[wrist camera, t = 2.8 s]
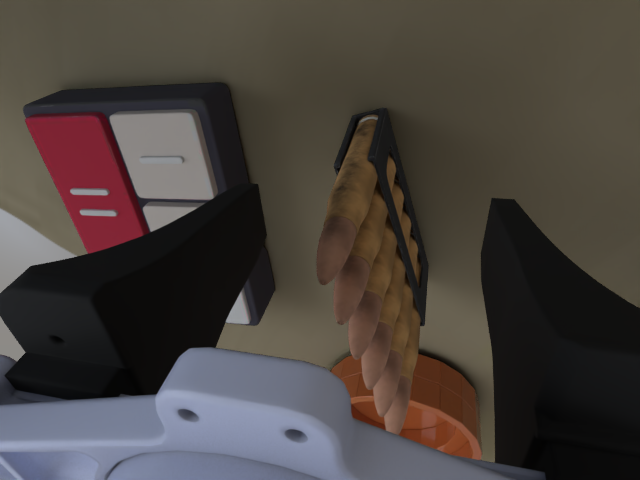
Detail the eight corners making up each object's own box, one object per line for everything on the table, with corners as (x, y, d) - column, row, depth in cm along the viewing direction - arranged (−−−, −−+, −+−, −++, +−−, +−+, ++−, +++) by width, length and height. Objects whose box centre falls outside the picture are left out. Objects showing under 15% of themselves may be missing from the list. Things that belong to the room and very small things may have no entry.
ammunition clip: (429, 268, 28) (419, 454, 18) (399, 271, 28) (376, 452, 19) (386, 106, 22) (341, 256, 13) (351, 115, 23) (284, 263, 14)
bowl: (489, 356, 31) (494, 413, 28) (467, 444, 38) (469, 499, 35) (323, 334, 34) (309, 384, 30) (332, 421, 41) (321, 469, 38)
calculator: (196, 102, 20) (256, 336, 28) (233, 78, 24) (276, 292, 32) (6, 109, 23) (110, 320, 31) (64, 86, 26) (144, 282, 35)
